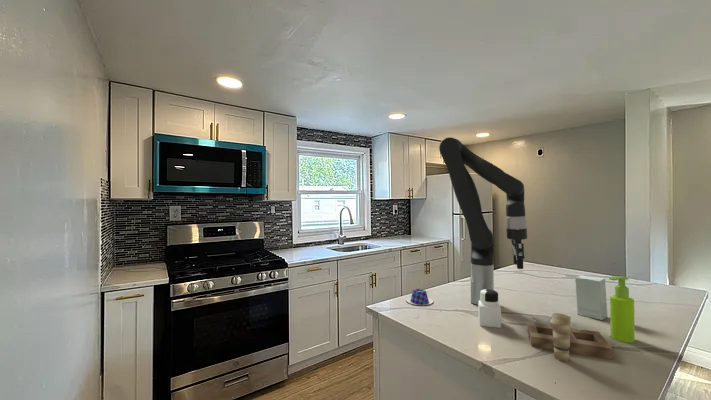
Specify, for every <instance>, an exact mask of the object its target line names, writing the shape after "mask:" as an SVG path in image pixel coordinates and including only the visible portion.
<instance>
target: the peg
mask: <svg viewBox="0 0 711 400" xmlns="http://www.w3.org/2000/svg"><path fill="white" fill-rule="evenodd" d="M571 320H572V319H571V316H569V315H568V314H564V313H556V312H555V313H552V314H551V325H552V329H553V344H554V350H553V357H554V359H556V360H558V361H559V362H564V363H566V362H567V363H568V362H570V352H569V347H570V333H571V328H572V326H571V324H572V322H571Z"/></svg>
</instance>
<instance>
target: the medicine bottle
mask: <svg viewBox="0 0 711 400" xmlns="http://www.w3.org/2000/svg"><path fill="white" fill-rule="evenodd" d="M477 307H478V308H477V309H478V312H477V313H478V324H479V326H480V327H488V328H496V329H497V328H498V329H501V328H502V308H501V305H500V302H499V293H498V291H496V290H495V289H494V290H490V289H484V290H481V291H480V300H479V301H478V305H477Z"/></svg>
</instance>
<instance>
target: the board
mask: <svg viewBox="0 0 711 400" xmlns="http://www.w3.org/2000/svg"><path fill="white" fill-rule="evenodd" d="M526 323H527V324H526V326H527V327H526V328H527V335H528V339H529V342H530V345H531V347H536V348H542V349H548V350H553V351H554V344H553V329H552V324H551V325H550V324H544V323H536V322H529V321H528V322H526ZM569 353H571V354H572V353H573V354H577V355H578V354H579V355H583V356H590V357H596V358H603V359H610V360H613V355H614V354H613V347H612V346H611V345H610V344H609V342H608V341H607V340H606V339H605V338H604V336H603V335H602V334H601V332H600V331H595V330H588V329H583V328H582V329H581V328H573V327H571V333H570V347H569Z"/></svg>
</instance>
